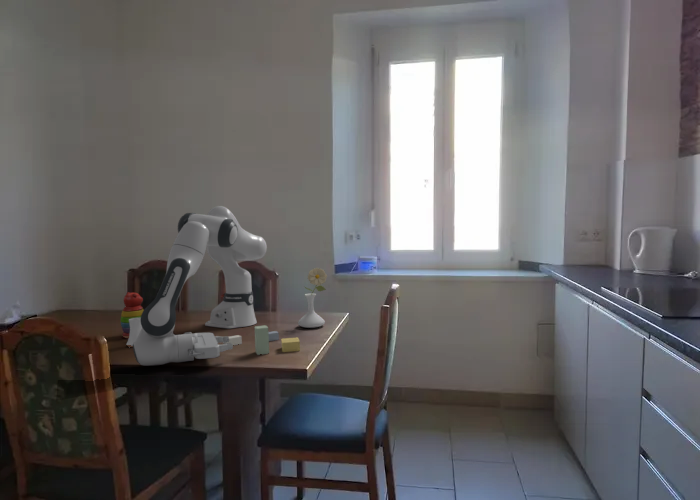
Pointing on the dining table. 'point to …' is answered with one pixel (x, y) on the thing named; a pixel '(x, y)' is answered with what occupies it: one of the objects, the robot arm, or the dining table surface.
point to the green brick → (261, 340)
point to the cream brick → (235, 340)
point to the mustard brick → (290, 344)
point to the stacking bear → (131, 311)
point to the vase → (134, 330)
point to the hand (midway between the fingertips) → (230, 342)
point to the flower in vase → (311, 317)
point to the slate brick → (273, 336)
